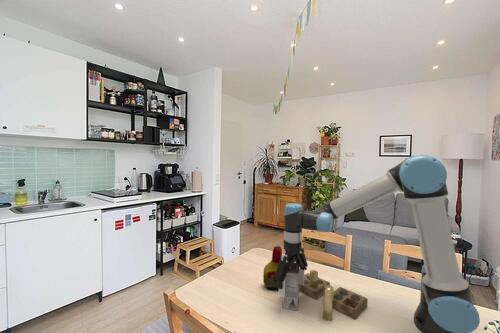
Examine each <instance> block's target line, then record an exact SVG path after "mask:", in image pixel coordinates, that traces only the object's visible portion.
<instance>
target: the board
mask: <svg viewBox="0 0 500 333" xmlns="http://www.w3.org/2000/svg"><path fill="white" fill-rule="evenodd" d="M324 285H330V286H331V282H330V281H327V280H326V279H323V278H320V277H319V272H318V271H317V270H314V269H313V270H310V271H309V272H307V273H304V285H301V284H299V293H302V294H304V295H305V296H307V297H310V298H312V299H314V300H315V301H317V300H319V299H320V298H321V297H322V296H323V290H324Z"/></svg>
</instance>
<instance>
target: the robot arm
mask: <svg viewBox="0 0 500 333" xmlns="http://www.w3.org/2000/svg"><path fill="white" fill-rule="evenodd" d="M447 178H448V172H447V169H446V167H445V165H444V164H443V163H442V162H441V161H440V160H439V159H438V158H436V157H434V156H431V155H428V154H416V155H411V156H409V157H406V158H405V159H403V160H402V161H401V162H400V163H398V164H397V165H395V166H394V167H391V168H390V169H388V170H387V171H386V174H384V175H382V176H380V177H378V178H376V179H373V180H372V181H369V182H368V183H366V184H363V185H361V186H360V187H357V188H356V189H353V190H351V191H349V192H348V193H345V194H343V195H341V196H339V197H337V198H335V199H332V200H331V201H329V202H328V203H325V204H322V205H319V206H318V208H317V209H315V210H306V209H303V208H304V207H303V205H302V204H301V203H295V202H294V203H291V202H290V203H286V204H285V206H284V211H283V250H284V251H285V252H284V254H282V255H280V261H279V264H278V268H277V271H276V274H275V278H274V279H275V280H277V281H278V288H279V290H277V291H278V295H279V296H280V297H282V298H283V297H285V281H284V279H285V276H286V274H287V271H288V269H289V267H290V266H291V265H292V264H293V263H299V284H301V285H304V275H305V271H307V270H308V269H307V268H308V262H307V259H306V258H307V257H306V255H305V249H304V248H303V246H302V243H303V242H302V241H303V230H304V229H305V230H308V231H315V232H320V233H332V231H333V230H332V229H333V226H334V225H333V224H334V221H335V220H337V219H339V218H341V217H344V216H345V215H348V214H349V213H352V212H354V211H357V210H358V209H361V208H363V207H366V206H367V205H370V204H373V203H374V202H377V201H378V200H382V199H383V198H385V197H388V196H390V195H392V194H394V193H396V192H397V193H398V192H400V193H403V196H404V199H405V200H406V201H408V202H409V203H410V204H411V209H412V214H413V218H414V223H415V228H416V232H417V235H418V236H417V237H418V240H419V242H418V243H419V246H420V250H421V255H422V259H423V265H422V266H421V271H420V272H421V275H420V276H421V277H420V278H421V279H420V280H421V281H420V296H419V297H420V300H419V304H418V305H417V307H416V309H415V311H414V313H413V323H414V325H415V326H416V328H417V329H418V330H419V331H420V332H422V333H472V332H473V331H475V330H477V329H478V327H480V326H479V325H480V322H481V318H480V314H479V311H478V310H477V308H476V307H475V305H474V301H473V297H472V293H471V288H470V284H469V282H468V280H466V279H465V278H464V276H463V273H462V272H460V268H459V264H458V259H457V255H456V250H455V246H454V242H453V237H452V233H451V228H450V224H449V218H448V215H447V209H446V205H445V201H444V200H445V199H446V198H448V196H449V191H448V187H447ZM287 262H288V263H287Z"/></svg>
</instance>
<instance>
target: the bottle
mask: <svg viewBox="0 0 500 333" xmlns="http://www.w3.org/2000/svg"><path fill="white" fill-rule="evenodd" d="M272 249H273V250H272V256H271V260H270V261H269V262H268V263H267V264H266V265H265V266H264V267H263V275H262V276H263V284H264V286H265V287H266V288H267V289H269V290H276V291H279V288H278V281H277V280H275V279H274V278H275V274H276V271H277V268H278V264H279V261H280V255H283V250H282V247H281V246H280V245H276V246H274V247H273V248H272Z"/></svg>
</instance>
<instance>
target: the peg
mask: <svg viewBox="0 0 500 333" xmlns="http://www.w3.org/2000/svg"><path fill="white" fill-rule="evenodd" d="M333 292H334V287H333V286H332V285H331V284H330V285H324V290H323V295H322V296H323V297H322V304H323V305H322V318H323V319H324V321H329V322H331V321H332V320H333V318H334V317H333V313H334V311H333V310H334V309H333Z"/></svg>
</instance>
